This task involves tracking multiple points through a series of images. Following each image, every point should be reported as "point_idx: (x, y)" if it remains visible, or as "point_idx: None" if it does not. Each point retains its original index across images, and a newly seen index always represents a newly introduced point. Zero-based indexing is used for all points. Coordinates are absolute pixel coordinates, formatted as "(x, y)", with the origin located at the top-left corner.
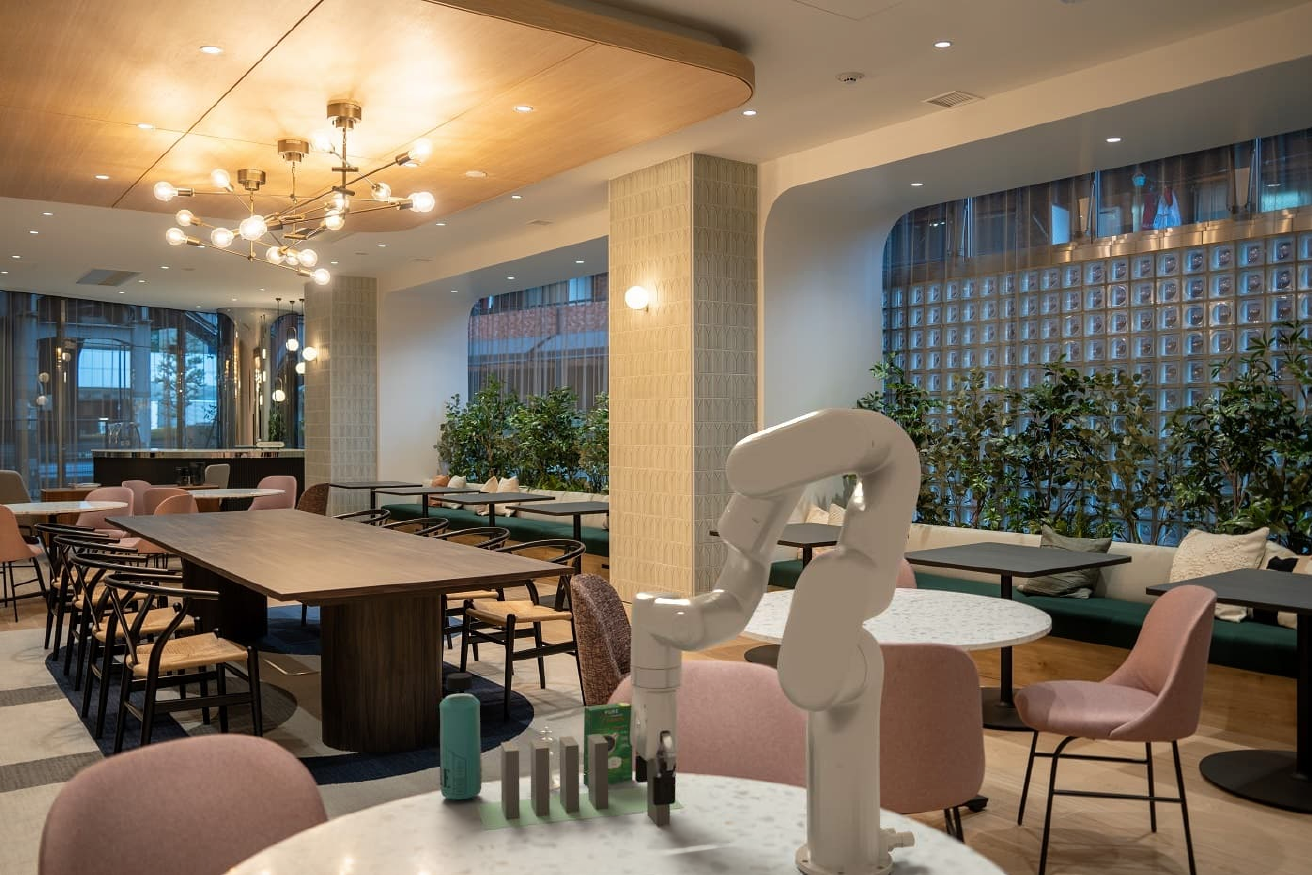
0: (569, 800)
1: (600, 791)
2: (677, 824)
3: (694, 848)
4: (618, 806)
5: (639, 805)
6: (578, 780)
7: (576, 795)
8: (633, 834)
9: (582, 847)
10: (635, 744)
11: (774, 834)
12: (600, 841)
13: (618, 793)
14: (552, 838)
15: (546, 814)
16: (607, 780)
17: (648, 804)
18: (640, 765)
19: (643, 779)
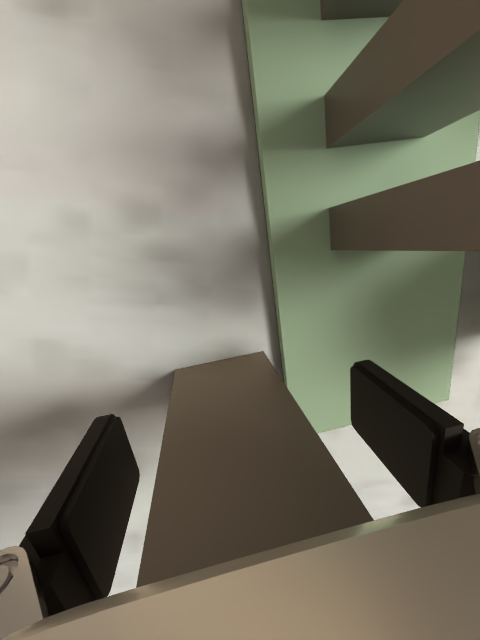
0: (349, 83)
1: (364, 218)
2: None
3: (38, 450)
4: (341, 281)
5: (333, 338)
6: (410, 80)
7: (360, 108)
8: (147, 308)
9: (30, 128)
10: (388, 627)
11: (129, 587)
12: (90, 201)
13: (434, 288)
14: (123, 12)
15: (321, 1)
16: (392, 247)
17: (261, 372)
18: (396, 415)
19: (356, 390)
